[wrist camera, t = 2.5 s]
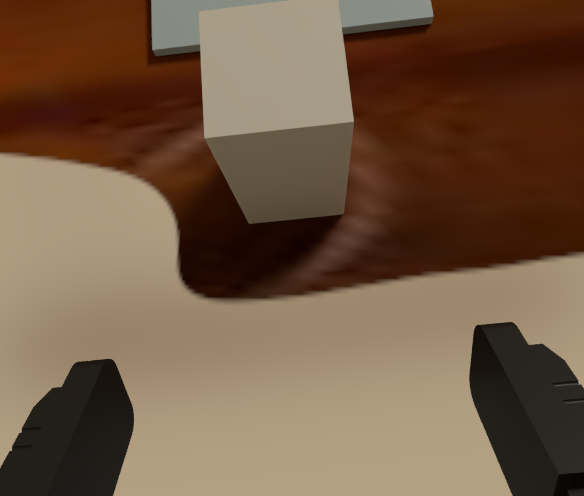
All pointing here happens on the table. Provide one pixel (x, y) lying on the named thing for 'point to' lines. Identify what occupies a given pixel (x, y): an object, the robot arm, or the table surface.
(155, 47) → the tile
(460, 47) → the table surface
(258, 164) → the beige block
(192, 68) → the table surface
